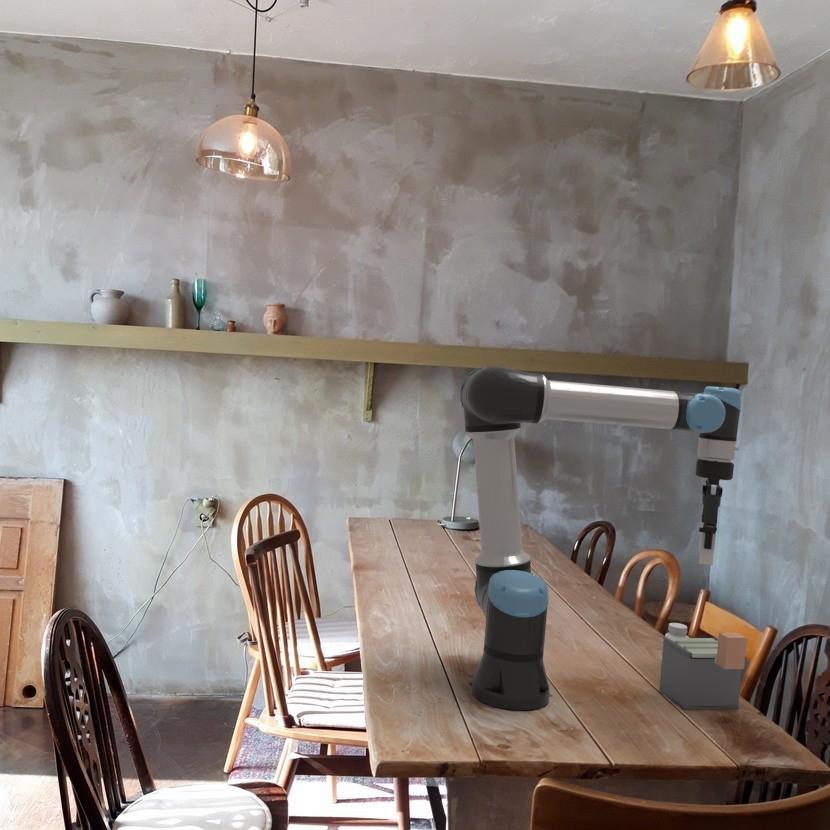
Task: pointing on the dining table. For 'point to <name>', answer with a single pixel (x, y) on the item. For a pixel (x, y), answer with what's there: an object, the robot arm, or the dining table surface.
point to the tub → (697, 680)
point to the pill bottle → (677, 631)
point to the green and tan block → (717, 649)
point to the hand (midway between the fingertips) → (704, 558)
